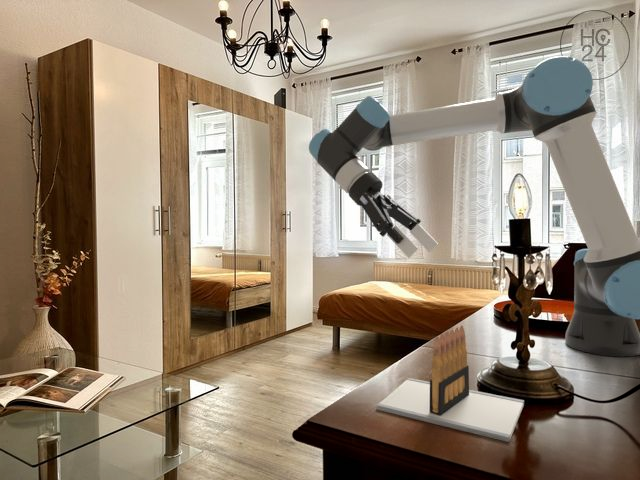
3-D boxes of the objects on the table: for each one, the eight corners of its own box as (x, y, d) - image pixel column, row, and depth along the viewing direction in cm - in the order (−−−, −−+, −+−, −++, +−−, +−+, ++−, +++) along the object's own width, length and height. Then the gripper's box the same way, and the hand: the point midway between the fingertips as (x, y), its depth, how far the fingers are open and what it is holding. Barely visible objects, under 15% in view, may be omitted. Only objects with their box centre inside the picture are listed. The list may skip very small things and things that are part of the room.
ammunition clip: (440, 416, 66) (439, 338, 65) (429, 412, 67) (428, 336, 67) (469, 394, 74) (469, 325, 73) (459, 391, 75) (458, 323, 74)
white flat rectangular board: (524, 404, 71) (524, 400, 71) (509, 442, 59) (509, 437, 59) (408, 381, 82) (408, 377, 82) (376, 409, 70) (376, 405, 70)
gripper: (372, 196, 111) (430, 257, 104) (321, 193, 89) (390, 269, 82) (391, 174, 107) (452, 235, 100) (344, 165, 86) (417, 241, 79)
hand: (424, 250), depth 91 cm, fingers open, 13 cm apart
